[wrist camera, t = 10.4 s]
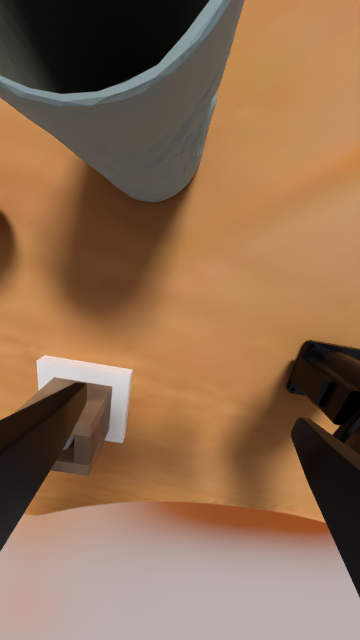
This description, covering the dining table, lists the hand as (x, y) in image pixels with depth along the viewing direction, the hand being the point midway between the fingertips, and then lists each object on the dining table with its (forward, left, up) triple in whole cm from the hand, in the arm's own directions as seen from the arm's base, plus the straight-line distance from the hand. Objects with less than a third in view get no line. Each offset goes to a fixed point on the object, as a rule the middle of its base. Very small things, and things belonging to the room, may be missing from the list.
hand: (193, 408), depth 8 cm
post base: (+10, +12, -12) cm, 20 cm away
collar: (+10, +12, -11) cm, 19 cm away
